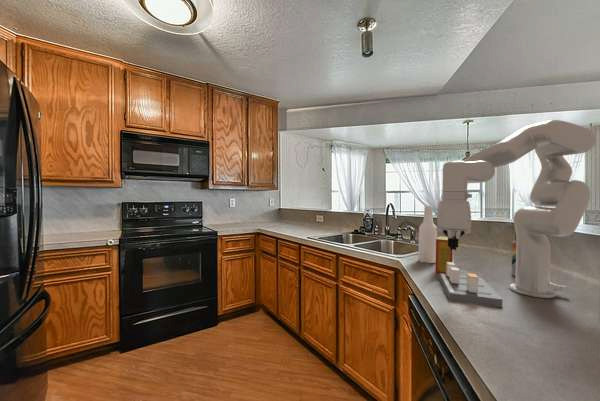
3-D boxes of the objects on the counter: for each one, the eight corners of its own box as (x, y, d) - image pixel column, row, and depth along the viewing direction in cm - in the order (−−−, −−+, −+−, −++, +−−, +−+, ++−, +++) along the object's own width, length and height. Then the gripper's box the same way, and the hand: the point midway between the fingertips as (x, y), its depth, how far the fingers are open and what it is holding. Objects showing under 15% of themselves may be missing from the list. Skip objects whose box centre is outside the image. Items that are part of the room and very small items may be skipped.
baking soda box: (451, 275, 117) (452, 239, 117) (435, 272, 121) (436, 238, 121) (454, 270, 125) (455, 237, 124) (439, 268, 129) (439, 235, 128)
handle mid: (457, 280, 101) (457, 267, 101) (459, 283, 97) (459, 270, 97) (449, 279, 102) (449, 266, 102) (451, 283, 98) (451, 269, 98)
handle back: (453, 274, 109) (453, 262, 108) (455, 277, 105) (455, 265, 105) (446, 273, 109) (446, 261, 109) (447, 276, 106) (448, 264, 106)
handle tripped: (474, 288, 92) (475, 273, 92) (477, 293, 88) (478, 277, 88) (466, 288, 93) (466, 273, 93) (469, 291, 89) (469, 276, 89)
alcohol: (433, 260, 144) (434, 205, 144) (438, 264, 136) (440, 206, 135) (416, 259, 146) (417, 205, 145) (420, 263, 137) (421, 205, 137)
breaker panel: (480, 283, 107) (481, 277, 107) (502, 307, 84) (502, 299, 84) (439, 278, 112) (439, 272, 112) (449, 300, 90) (449, 292, 90)
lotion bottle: (521, 274, 119) (523, 230, 119) (531, 278, 114) (532, 232, 113) (508, 273, 120) (509, 230, 120) (517, 277, 114) (518, 232, 114)
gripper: (476, 197, 93) (474, 249, 93) (429, 196, 98) (428, 245, 99) (482, 197, 86) (480, 253, 86) (431, 196, 91) (430, 249, 92)
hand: (452, 249), depth 92 cm, fingers closed
